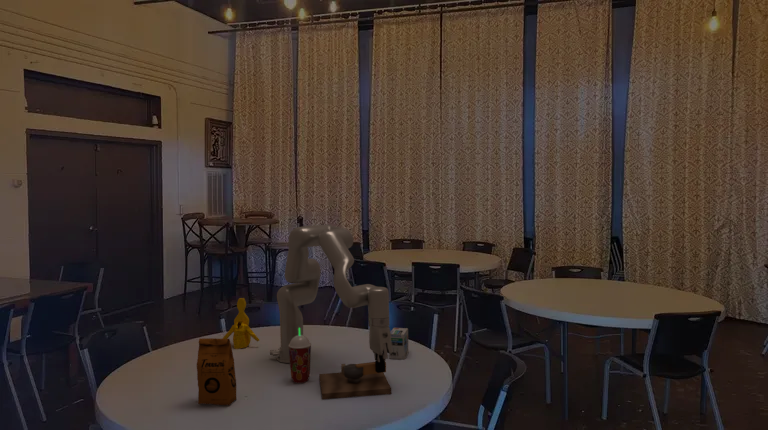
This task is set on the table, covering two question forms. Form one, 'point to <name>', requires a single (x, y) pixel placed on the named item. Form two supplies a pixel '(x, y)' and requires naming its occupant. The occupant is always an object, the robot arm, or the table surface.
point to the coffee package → (216, 372)
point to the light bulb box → (399, 343)
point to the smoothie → (300, 358)
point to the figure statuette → (241, 328)
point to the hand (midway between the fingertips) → (380, 371)
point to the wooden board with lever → (352, 385)
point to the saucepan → (360, 370)
